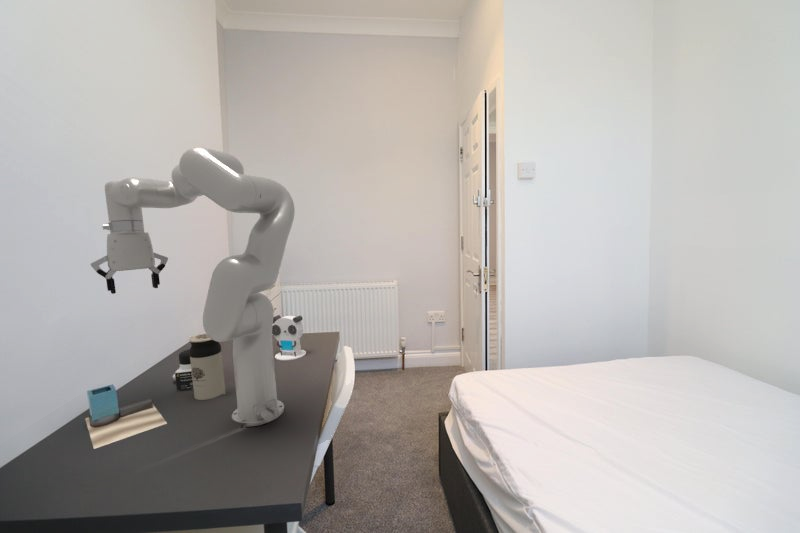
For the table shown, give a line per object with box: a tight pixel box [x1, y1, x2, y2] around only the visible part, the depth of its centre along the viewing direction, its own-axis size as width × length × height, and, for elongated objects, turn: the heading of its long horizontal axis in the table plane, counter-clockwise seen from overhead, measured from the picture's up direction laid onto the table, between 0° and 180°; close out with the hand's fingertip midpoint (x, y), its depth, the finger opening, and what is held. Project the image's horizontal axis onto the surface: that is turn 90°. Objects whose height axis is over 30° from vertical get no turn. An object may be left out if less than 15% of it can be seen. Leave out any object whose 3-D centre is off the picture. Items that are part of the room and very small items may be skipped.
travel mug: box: [188, 333, 226, 401], centre depth 106 cm, size 8×8×18 cm
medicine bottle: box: [174, 348, 194, 392], centre depth 113 cm, size 7×7×12 cm
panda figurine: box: [272, 314, 307, 361], centre depth 140 cm, size 12×11×15 cm
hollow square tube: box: [86, 384, 120, 421], centre depth 93 cm, size 5×5×6 cm
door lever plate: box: [84, 398, 168, 450], centre depth 93 cm, size 20×14×8 cm
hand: (135, 290), depth 103 cm, fingers open, 9 cm apart
